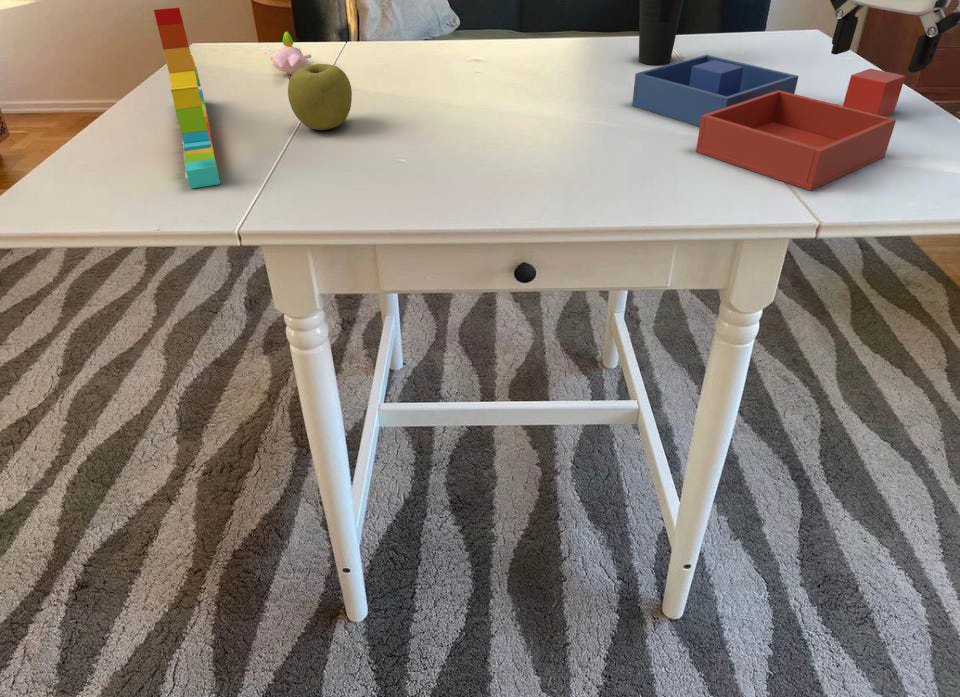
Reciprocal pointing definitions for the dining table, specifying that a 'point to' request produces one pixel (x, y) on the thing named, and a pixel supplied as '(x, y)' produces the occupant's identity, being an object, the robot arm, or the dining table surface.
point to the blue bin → (678, 100)
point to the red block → (874, 91)
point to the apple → (320, 96)
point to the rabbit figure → (289, 57)
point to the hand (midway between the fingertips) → (876, 61)
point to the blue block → (717, 77)
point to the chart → (187, 100)
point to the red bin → (795, 138)
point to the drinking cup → (658, 30)
